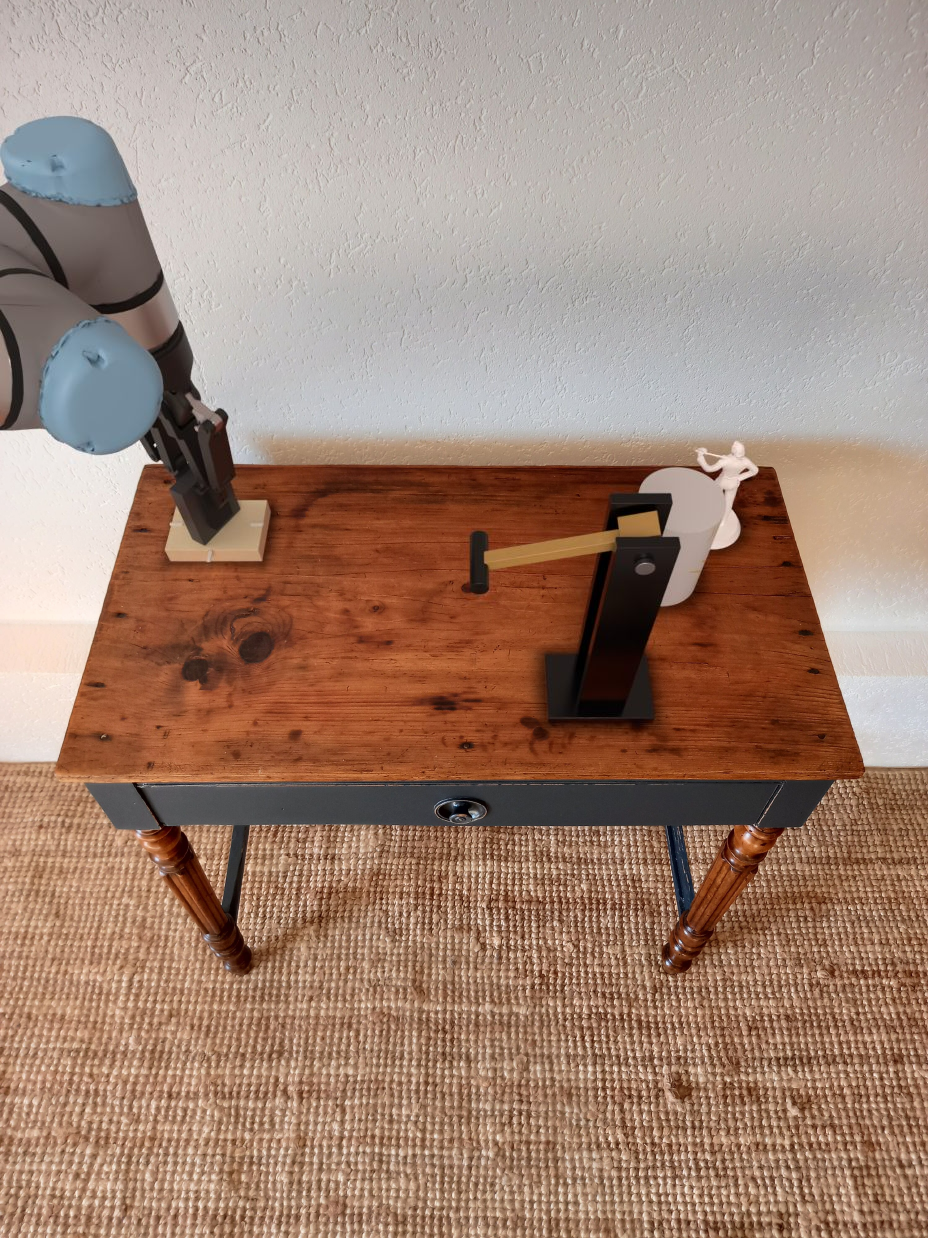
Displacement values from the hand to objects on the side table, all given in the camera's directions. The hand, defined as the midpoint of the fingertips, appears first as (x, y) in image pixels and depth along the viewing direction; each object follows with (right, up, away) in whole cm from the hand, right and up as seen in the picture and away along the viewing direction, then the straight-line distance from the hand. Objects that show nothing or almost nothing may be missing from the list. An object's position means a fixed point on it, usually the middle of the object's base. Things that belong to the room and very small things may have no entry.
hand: (213, 515), depth 86 cm
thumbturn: (0, -1, +1) cm, 1 cm away
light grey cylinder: (+48, -6, 0) cm, 48 cm away
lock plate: (0, -2, +3) cm, 3 cm away
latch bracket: (+40, -18, -8) cm, 44 cm away
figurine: (+54, -1, +3) cm, 54 cm away
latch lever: (+34, -6, -26) cm, 44 cm away
